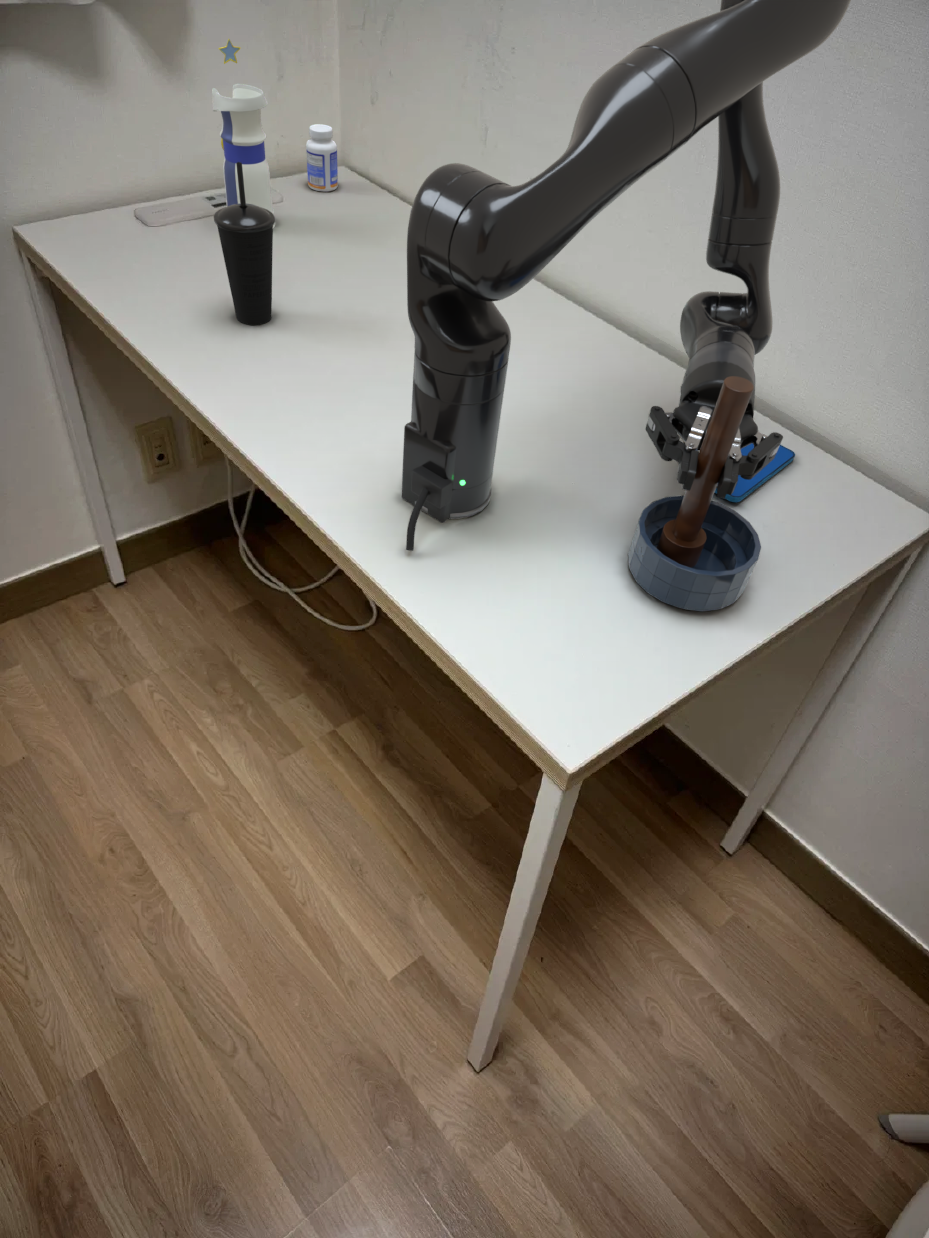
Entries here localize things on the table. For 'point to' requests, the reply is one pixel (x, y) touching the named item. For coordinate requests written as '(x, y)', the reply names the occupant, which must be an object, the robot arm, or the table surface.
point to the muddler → (706, 474)
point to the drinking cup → (248, 256)
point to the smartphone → (760, 473)
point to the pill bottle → (321, 158)
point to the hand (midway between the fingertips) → (706, 486)
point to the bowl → (716, 570)
